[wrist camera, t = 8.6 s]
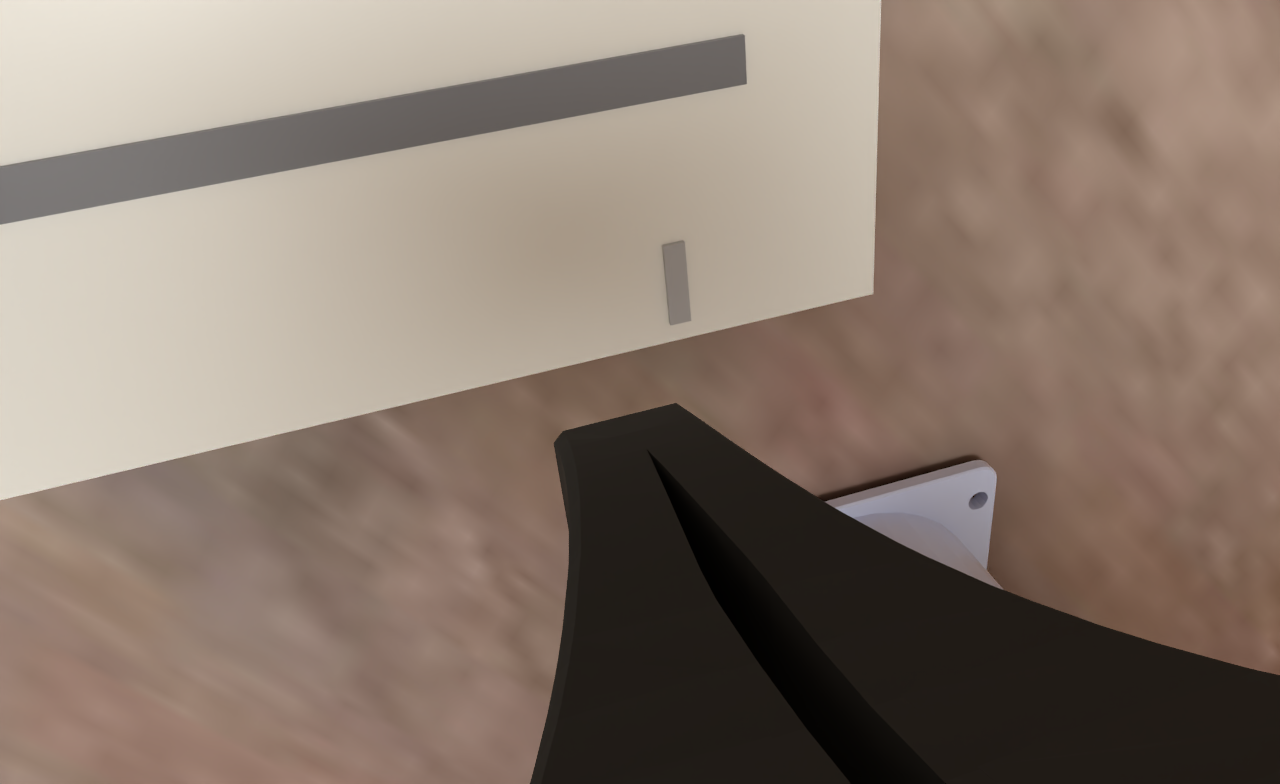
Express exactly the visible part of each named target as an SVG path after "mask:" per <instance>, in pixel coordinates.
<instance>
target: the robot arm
mask: <svg viewBox="0 0 1280 784" xmlns="http://www.w3.org/2000/svg"><path fill="white" fill-rule="evenodd" d="M554 447H555V453H556V459H557V465H558V471H559V476H560V482H561V488H562V494H563V499H564V505H565V511H566V517H567V522H568V528H569V567H568V580H567V590H566V600H565V610H564V620H563V630H562V637H561V644H560V650H559V657H558V663H557V669H556V675H555V680H554V685H553V690H552V695H551V700H550V705H549V710H548V714H547V719H546V723H545V727H544V731H543V735H542V739H541V743H540V747H539V751H538V755H537V759H536V763H535V767H534V771H533V775H532V779H531V782H530V784H1280V675H1276V674H1271V673H1266V672H1262V671H1257V670H1253V669H1249V668H1245V667H1241V666H1237V665H1234V664H1230V663H1226V662H1223V661H1219V660H1216V659H1212V658H1208V657H1205V656H1201V655H1197V654H1194V653H1190V652H1187V651H1183V650H1179V649H1176V648H1172V647H1169V646H1165V645H1161V644H1158V643H1154V642H1151V641H1148V640H1145V639H1142V638H1138V637H1135V636H1132V635H1129V634H1126V633H1122V632H1119V631H1116V630H1113V629H1110V628H1106V627H1103V626H1100V625H1097V624H1095V623H1092V622H1089V621H1086V620H1083V619H1081V618H1078V617H1075V616H1072V615H1069V614H1067V613H1064V612H1061V611H1058V610H1055V609H1053V608H1050V607H1047V606H1044V605H1041V604H1039V603H1036V602H1033V601H1030V600H1027V599H1025V598H1022V597H1020V596H1017V595H1015V594H1012V593H1010V592H1007V591H1005V590H1004V589H1003V588H1002V587H1001V586H1000V585H999V584H998V583H997V582H996V580H995V579H994V578H993V577H992V576H991V575H990V574H989V573H988V571H987V563H988V554H989V545H990V536H991V527H992V518H993V509H994V500H995V491H996V482H997V475H996V472H995V471H994V469H993V468H992V467H991V466H990V465H989V464H988V463H987V462H985V461H982V460H973V461H970V462H966V463H963V464H959V465H955V466H952V467H948V468H944V469H941V470H937V471H934V472H930V473H926V474H923V475H919V476H915V477H912V478H908V479H905V480H901V481H897V482H894V483H890V484H886V485H883V486H879V487H876V488H872V489H868V490H865V491H861V492H858V493H854V494H850V495H847V496H843V497H839V498H836V499H832V500H829V501H825V502H824V501H822V500H821V499H819V498H817V497H816V496H814V495H813V494H811V493H810V492H808V491H806V490H805V489H803V488H802V487H800V486H798V485H797V484H795V483H794V482H792V481H790V480H789V479H787V478H786V477H784V476H782V475H781V474H779V473H778V472H776V471H775V470H773V469H772V468H770V467H769V466H767V465H766V464H764V463H763V462H761V461H760V460H758V459H757V458H755V457H754V456H752V455H751V454H749V453H748V452H746V451H745V450H744V449H742V448H741V447H739V446H738V445H736V444H735V443H733V442H732V441H730V440H729V439H728V438H726V437H725V436H723V435H722V434H720V433H719V432H718V431H716V430H715V429H713V428H712V427H710V426H709V425H708V424H706V423H705V422H703V421H702V420H700V419H699V418H697V417H696V416H695V415H693V414H692V413H690V412H689V411H687V410H686V409H684V408H683V407H681V406H680V405H678V404H677V403H674V404H670V405H666V406H662V407H658V408H654V409H650V410H646V411H642V412H638V413H634V414H630V415H626V416H622V417H618V418H614V419H610V420H606V421H602V422H598V423H594V424H590V425H586V426H582V427H578V428H574V429H570V430H566V431H563V432H562V433H561V434H560V436H559V437H558V438H557V440H556V441H555V442H554ZM975 494H976V495H975ZM973 495H975V496H974V497H973V498H972V496H973ZM971 498H972V499H971Z"/></svg>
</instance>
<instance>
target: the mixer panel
mask: <svg viewBox="0 0 1280 784" xmlns="http://www.w3.org/2000/svg"><path fill="white" fill-rule="evenodd" d="M880 27H881V0H0V500H3V499H7V498H11V497H16V496H20V495H24V494H28V493H33V492H37V491H41V490H45V489H50V488H54V487H58V486H62V485H67V484H71V483H75V482H79V481H83V480H88V479H92V478H96V477H100V476H105V475H109V474H113V473H117V472H122V471H126V470H130V469H134V468H138V467H143V466H147V465H151V464H155V463H160V462H164V461H168V460H172V459H177V458H181V457H185V456H189V455H193V454H198V453H202V452H206V451H210V450H215V449H219V448H223V447H227V446H232V445H236V444H240V443H244V442H248V441H253V440H257V439H261V438H265V437H270V436H274V435H278V434H282V433H287V432H291V431H295V430H299V429H304V428H308V427H312V426H316V425H320V424H325V423H329V422H333V421H337V420H342V419H346V418H350V417H354V416H359V415H363V414H367V413H371V412H375V411H380V410H384V409H388V408H392V407H397V406H401V405H405V404H409V403H414V402H418V401H422V400H426V399H430V398H435V397H439V396H443V395H447V394H452V393H456V392H460V391H464V390H469V389H473V388H477V387H481V386H486V385H490V384H494V383H498V382H502V381H507V380H511V379H515V378H519V377H524V376H528V375H532V374H536V373H541V372H545V371H549V370H553V369H557V368H562V367H566V366H570V365H574V364H579V363H583V362H587V361H591V360H596V359H600V358H604V357H608V356H612V355H617V354H621V353H625V352H629V351H634V350H638V349H642V348H646V347H651V346H655V345H659V344H663V343H667V342H672V341H676V340H680V339H684V338H689V337H693V336H697V335H701V334H706V333H710V332H714V331H718V330H723V329H727V328H731V327H735V326H739V325H744V324H748V323H752V322H756V321H761V320H765V319H769V318H773V317H778V316H782V315H786V314H790V313H794V312H799V311H803V310H807V309H811V308H816V307H820V306H824V305H828V304H833V303H837V302H841V301H845V300H849V299H854V298H858V297H862V296H866V295H871V294H873V284H874V247H875V210H876V174H877V137H878V100H879V63H880Z"/></svg>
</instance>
